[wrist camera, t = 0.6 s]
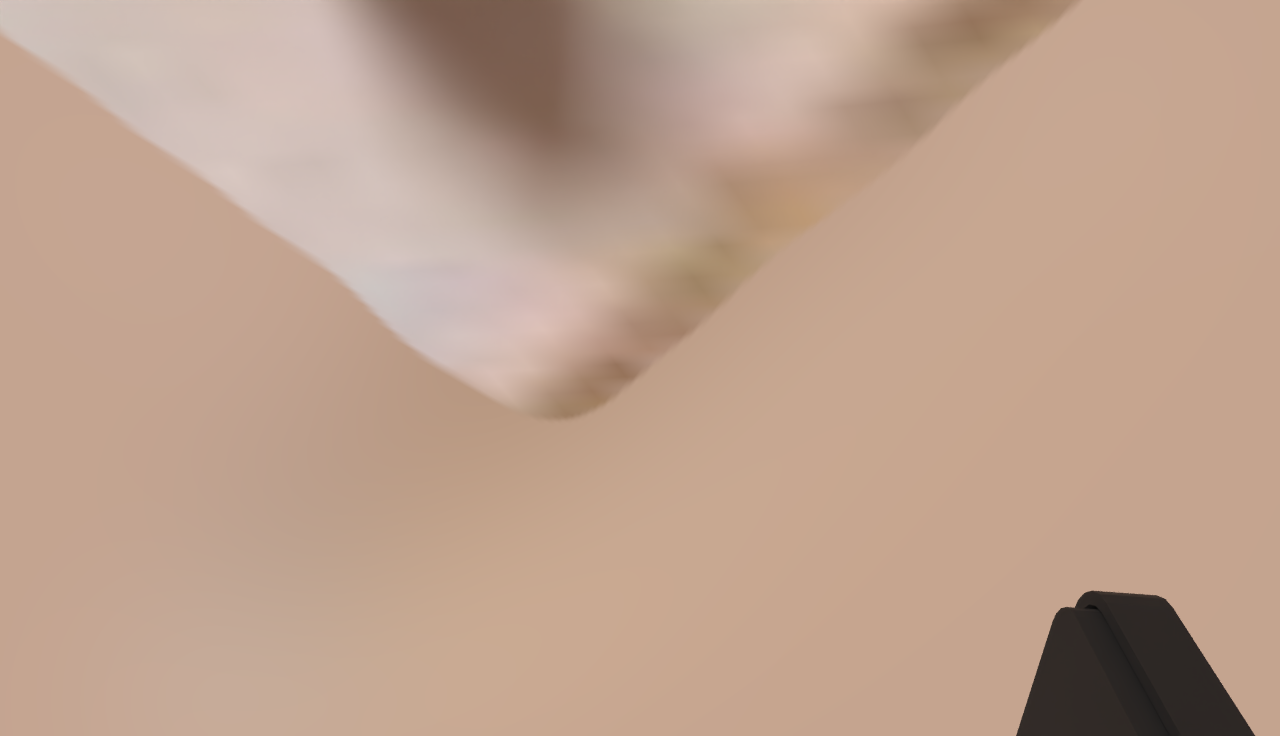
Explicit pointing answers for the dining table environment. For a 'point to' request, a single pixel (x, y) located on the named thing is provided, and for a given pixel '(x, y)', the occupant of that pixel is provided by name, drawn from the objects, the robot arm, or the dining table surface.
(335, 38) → the dining table surface
